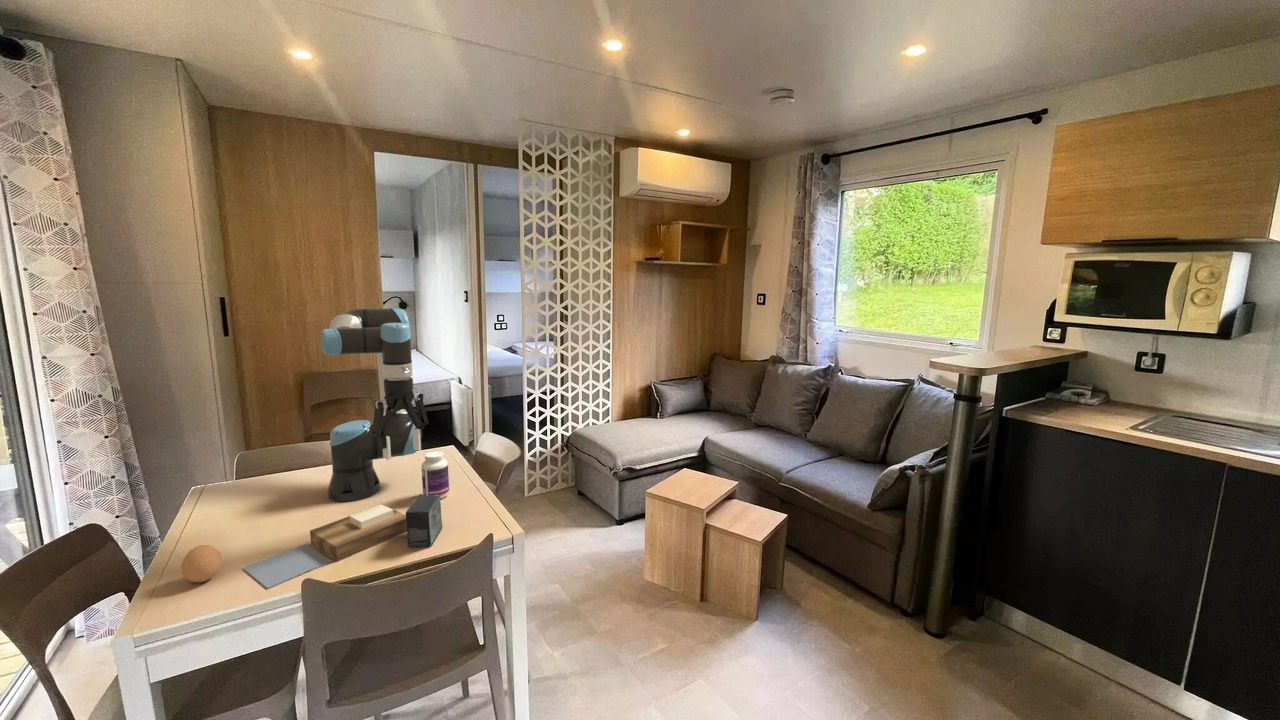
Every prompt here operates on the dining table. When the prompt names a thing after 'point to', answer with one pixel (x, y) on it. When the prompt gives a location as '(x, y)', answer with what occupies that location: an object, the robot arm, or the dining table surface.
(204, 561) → the egg
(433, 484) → the pill bottle
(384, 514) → the cream butter stick
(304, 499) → the dining table surface
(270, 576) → the mat
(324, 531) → the wooden block
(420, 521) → the small box
